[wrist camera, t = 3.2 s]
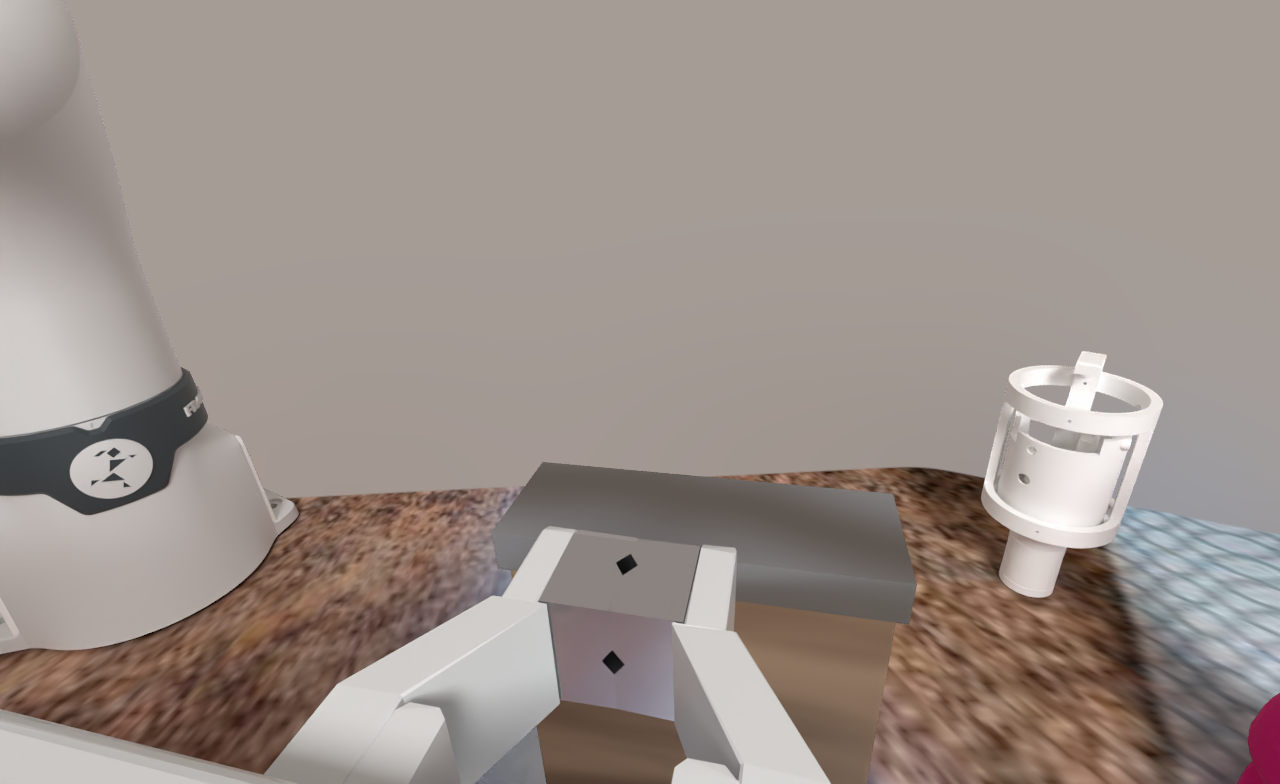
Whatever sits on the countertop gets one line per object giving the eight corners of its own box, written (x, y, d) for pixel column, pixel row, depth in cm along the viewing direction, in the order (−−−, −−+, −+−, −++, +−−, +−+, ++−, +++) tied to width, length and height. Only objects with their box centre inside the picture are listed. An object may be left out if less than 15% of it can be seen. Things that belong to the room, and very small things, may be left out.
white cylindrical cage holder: (1097, 574, 39) (1172, 363, 33) (1083, 640, 34) (1167, 408, 28) (979, 533, 43) (1026, 340, 37) (952, 587, 39) (1000, 375, 32)
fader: (840, 972, 20) (917, 584, 13) (556, 896, 23) (491, 532, 16) (834, 856, 23) (892, 494, 16) (585, 800, 26) (542, 462, 19)
